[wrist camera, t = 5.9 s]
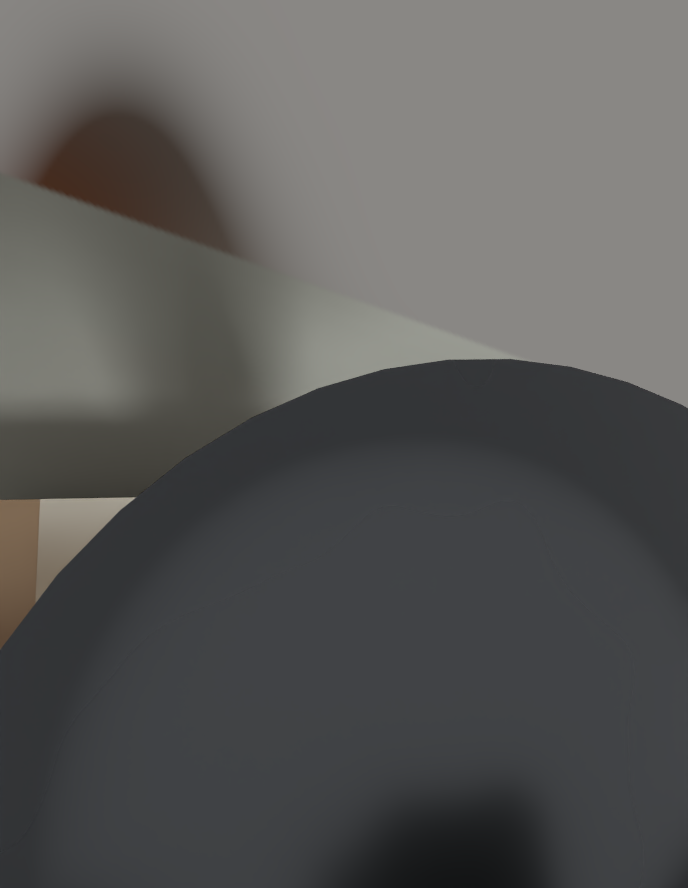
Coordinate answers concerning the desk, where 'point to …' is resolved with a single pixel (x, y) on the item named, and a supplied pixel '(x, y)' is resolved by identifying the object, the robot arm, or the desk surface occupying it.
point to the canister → (372, 651)
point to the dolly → (43, 547)
